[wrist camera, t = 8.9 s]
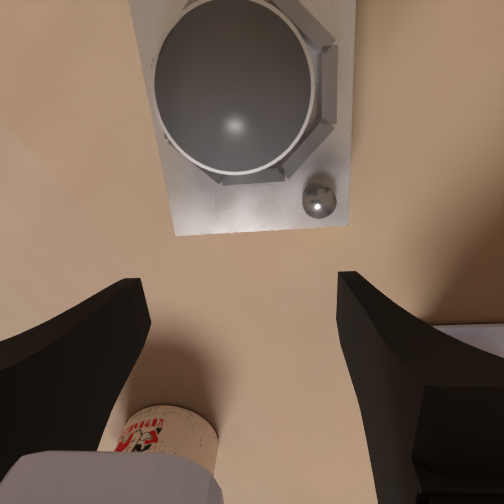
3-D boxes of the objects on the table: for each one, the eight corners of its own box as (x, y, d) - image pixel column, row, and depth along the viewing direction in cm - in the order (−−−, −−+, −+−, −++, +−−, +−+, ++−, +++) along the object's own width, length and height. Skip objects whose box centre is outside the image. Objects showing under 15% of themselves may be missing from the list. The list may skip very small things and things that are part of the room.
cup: (306, 134, 16) (322, 161, 10) (209, 152, 16) (176, 186, 11) (293, 15, 14) (304, -28, 8) (183, 40, 14) (128, 15, 9)
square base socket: (336, 201, 21) (354, 237, 16) (192, 211, 22) (168, 247, 17) (340, -77, 15) (370, -152, 11) (147, -50, 16) (91, -107, 11)
